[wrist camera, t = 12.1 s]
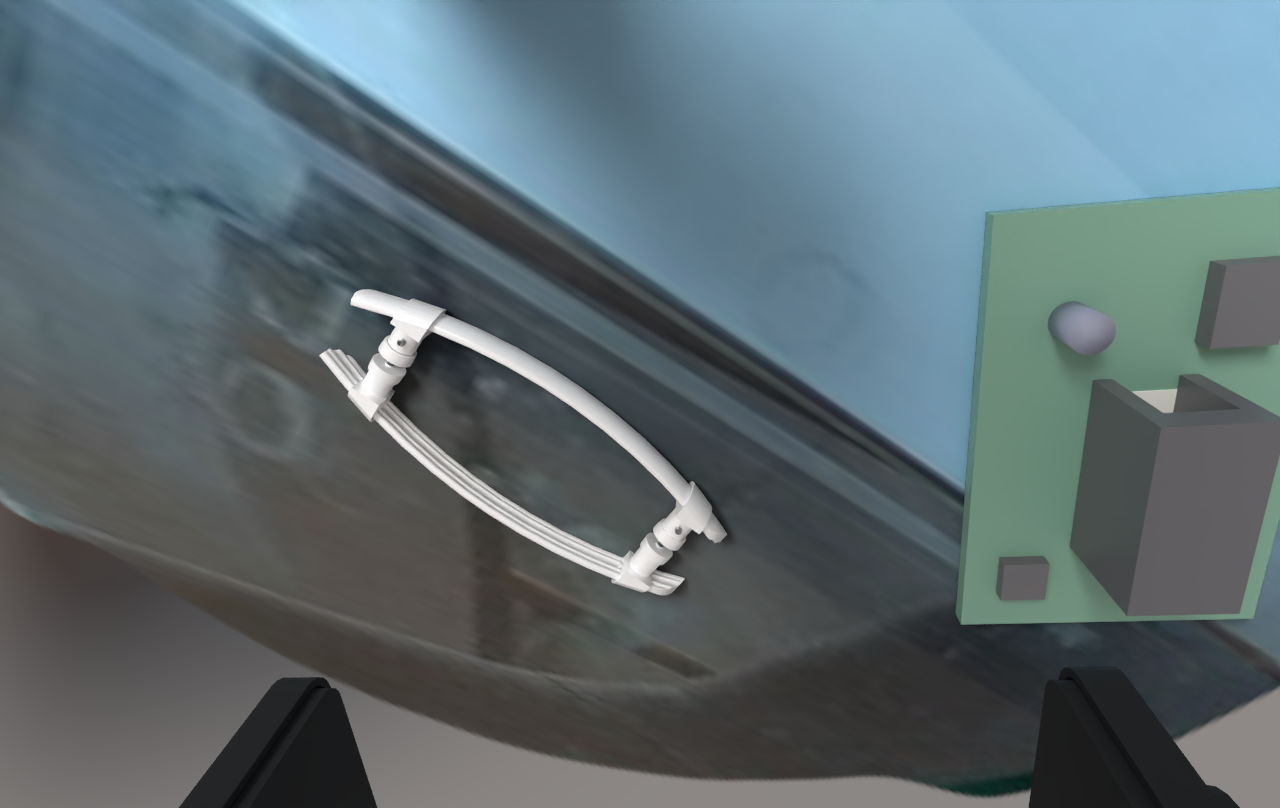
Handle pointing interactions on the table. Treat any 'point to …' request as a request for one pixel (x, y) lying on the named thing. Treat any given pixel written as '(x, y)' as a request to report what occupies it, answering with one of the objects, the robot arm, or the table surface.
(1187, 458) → the block
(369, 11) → the table surface
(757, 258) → the table surface
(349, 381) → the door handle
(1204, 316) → the board
